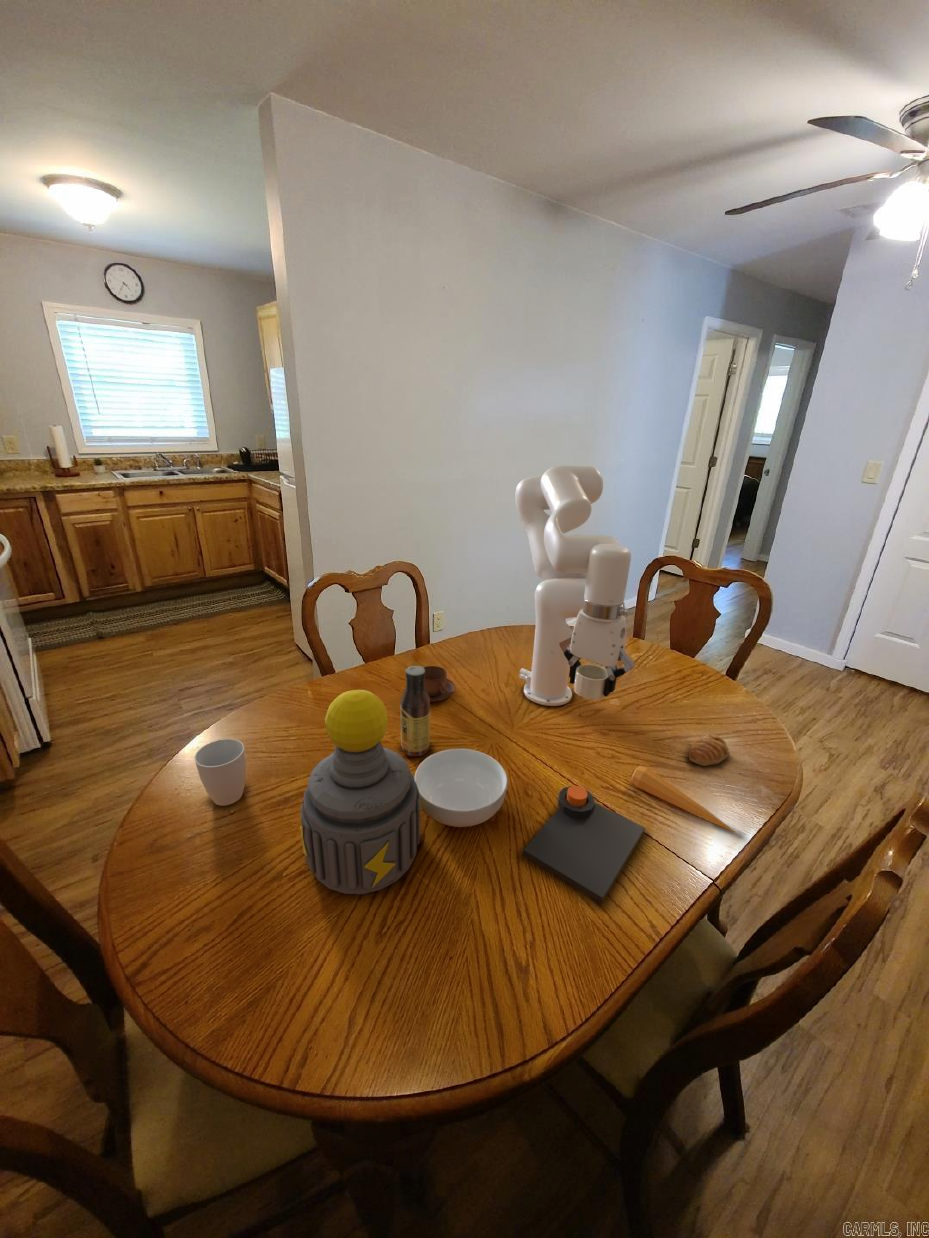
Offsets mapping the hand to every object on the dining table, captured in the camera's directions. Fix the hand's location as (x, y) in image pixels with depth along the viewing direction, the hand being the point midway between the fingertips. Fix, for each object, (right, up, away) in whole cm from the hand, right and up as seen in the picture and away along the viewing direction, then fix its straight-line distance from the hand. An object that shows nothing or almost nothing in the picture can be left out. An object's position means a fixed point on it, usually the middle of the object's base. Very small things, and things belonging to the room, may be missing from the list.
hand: (590, 686), depth 105 cm
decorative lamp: (-43, -25, -21) cm, 54 cm away
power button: (-6, -19, -12) cm, 24 cm away
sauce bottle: (-37, -14, +4) cm, 40 cm away
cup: (-71, -19, -11) cm, 74 cm away
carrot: (+15, -22, -10) cm, 28 cm away
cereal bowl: (-27, -21, -11) cm, 36 cm away
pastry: (+27, -16, +5) cm, 32 cm away
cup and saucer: (-35, -6, +26) cm, 44 cm away
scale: (-6, -25, -19) cm, 31 cm away
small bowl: (0, -1, 0) cm, 1 cm away
